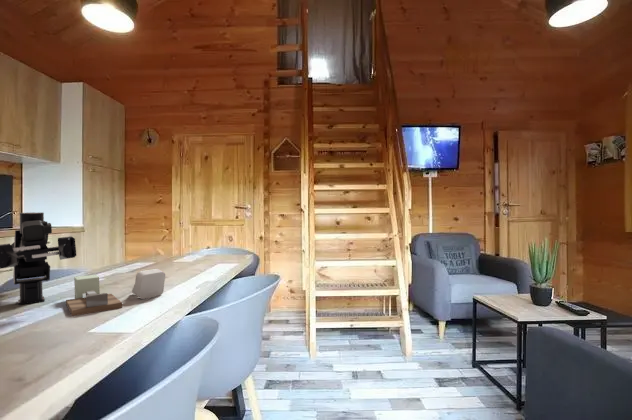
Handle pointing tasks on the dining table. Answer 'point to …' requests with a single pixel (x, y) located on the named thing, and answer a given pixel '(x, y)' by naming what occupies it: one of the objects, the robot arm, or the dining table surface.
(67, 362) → the dining table surface
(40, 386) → the dining table surface
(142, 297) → the grey rounded block piece
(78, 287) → the block
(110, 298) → the cleat board
